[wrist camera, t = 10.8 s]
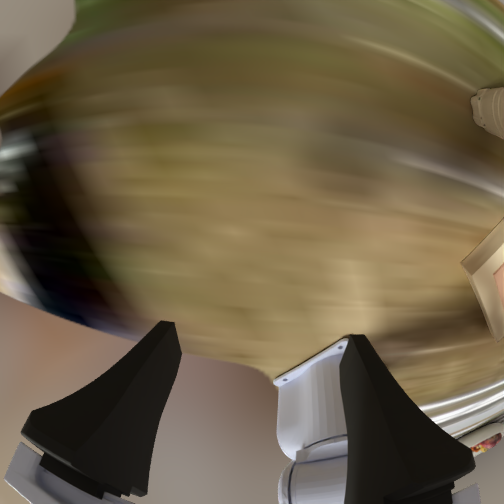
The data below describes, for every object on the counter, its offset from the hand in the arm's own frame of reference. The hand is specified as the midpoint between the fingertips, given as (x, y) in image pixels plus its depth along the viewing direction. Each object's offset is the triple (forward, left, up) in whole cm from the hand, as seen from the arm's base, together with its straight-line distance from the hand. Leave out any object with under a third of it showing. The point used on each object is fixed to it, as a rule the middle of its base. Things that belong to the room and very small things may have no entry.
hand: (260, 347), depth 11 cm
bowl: (-8, -85, -10) cm, 86 cm away
